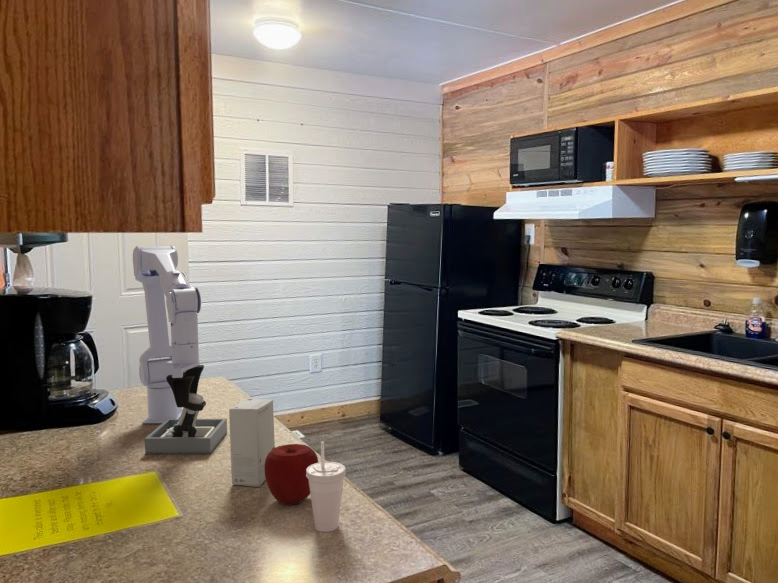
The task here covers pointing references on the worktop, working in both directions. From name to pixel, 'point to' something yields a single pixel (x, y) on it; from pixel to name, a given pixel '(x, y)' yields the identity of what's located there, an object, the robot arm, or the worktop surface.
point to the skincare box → (251, 440)
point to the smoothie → (326, 492)
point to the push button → (188, 417)
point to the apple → (289, 472)
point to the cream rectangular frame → (200, 431)
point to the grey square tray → (186, 438)
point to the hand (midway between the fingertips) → (186, 402)
